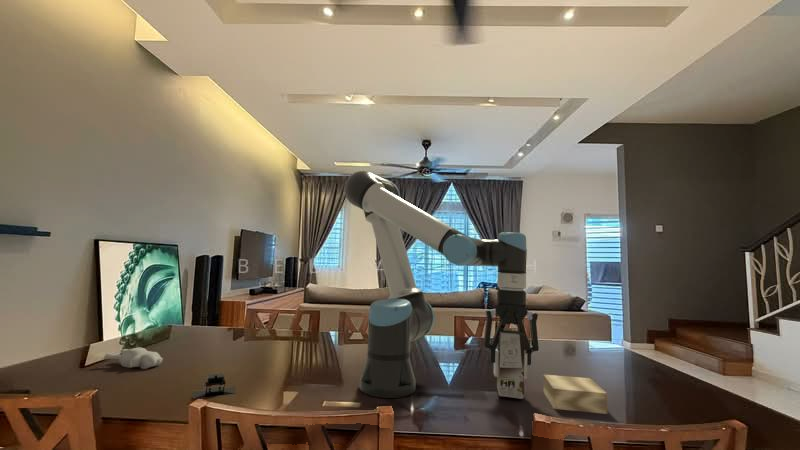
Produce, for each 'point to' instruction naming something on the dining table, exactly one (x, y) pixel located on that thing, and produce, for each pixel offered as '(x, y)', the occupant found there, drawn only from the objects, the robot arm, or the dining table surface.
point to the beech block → (575, 394)
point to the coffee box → (511, 363)
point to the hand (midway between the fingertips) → (509, 376)
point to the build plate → (214, 380)
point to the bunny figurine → (136, 358)
